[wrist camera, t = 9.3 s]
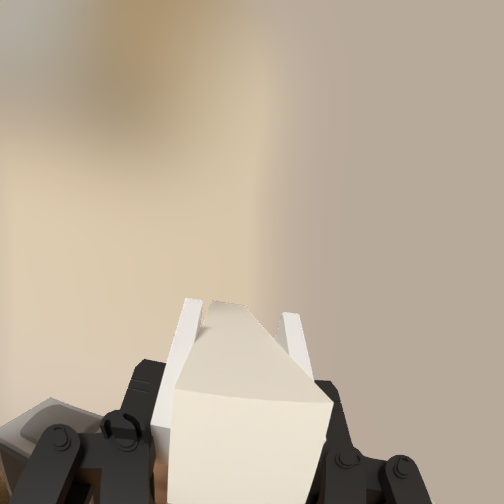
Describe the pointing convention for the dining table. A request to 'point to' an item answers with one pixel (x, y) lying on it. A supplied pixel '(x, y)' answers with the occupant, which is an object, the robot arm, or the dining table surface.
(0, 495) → the dining table surface
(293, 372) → the rail
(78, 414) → the grey paneled box
